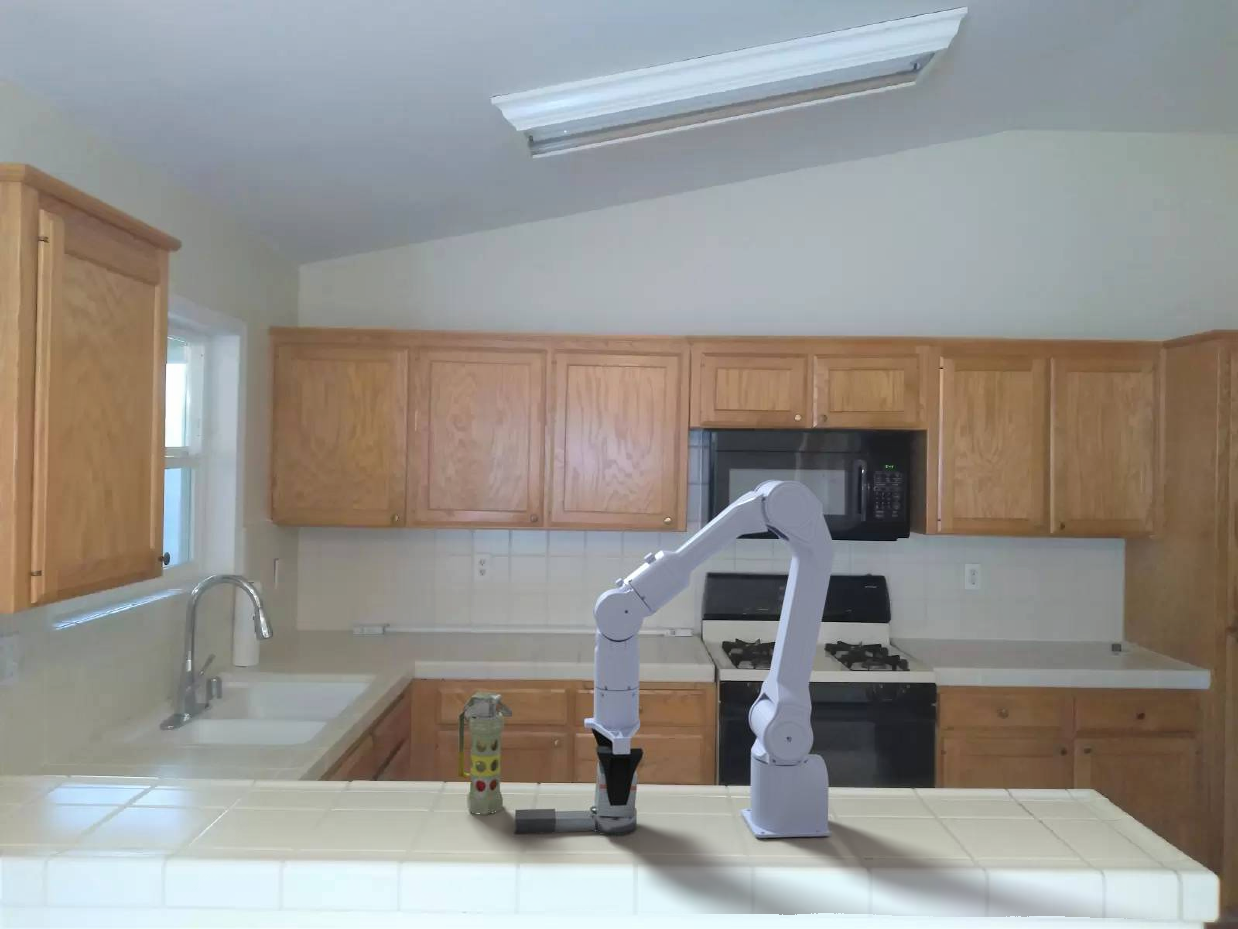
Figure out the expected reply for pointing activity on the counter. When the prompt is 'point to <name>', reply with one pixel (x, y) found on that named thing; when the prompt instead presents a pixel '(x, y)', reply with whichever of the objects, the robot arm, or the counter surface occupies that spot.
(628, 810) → the striped cube with knob
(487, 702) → the grenade
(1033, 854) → the counter surface
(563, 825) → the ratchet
